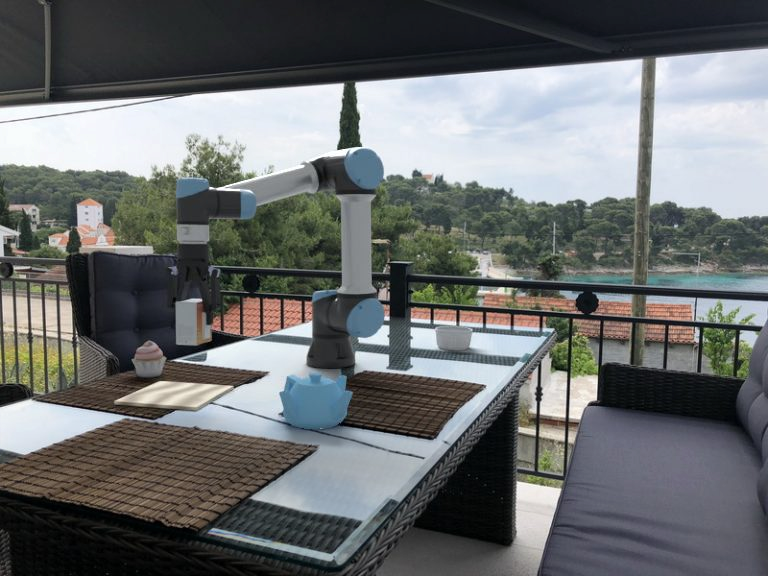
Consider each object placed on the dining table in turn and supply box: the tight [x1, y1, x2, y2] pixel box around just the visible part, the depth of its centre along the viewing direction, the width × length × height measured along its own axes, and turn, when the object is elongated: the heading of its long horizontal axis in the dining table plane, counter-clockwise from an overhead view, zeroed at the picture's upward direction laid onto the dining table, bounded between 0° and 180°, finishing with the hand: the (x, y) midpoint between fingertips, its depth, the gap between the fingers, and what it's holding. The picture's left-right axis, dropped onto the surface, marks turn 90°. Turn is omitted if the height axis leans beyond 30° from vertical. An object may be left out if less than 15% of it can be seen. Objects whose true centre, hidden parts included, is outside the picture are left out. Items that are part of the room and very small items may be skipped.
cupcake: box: [131, 340, 167, 379], centre depth 178 cm, size 9×9×10 cm
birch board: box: [113, 380, 234, 411], centre depth 157 cm, size 21×20×1 cm
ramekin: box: [434, 325, 474, 351], centre depth 225 cm, size 13×13×7 cm
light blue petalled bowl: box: [279, 372, 354, 430], centre depth 139 cm, size 15×15×11 cm
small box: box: [175, 298, 213, 346], centre depth 155 cm, size 8×6×10 cm
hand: (194, 337), depth 155 cm, fingers closed on small box, 6 cm apart
